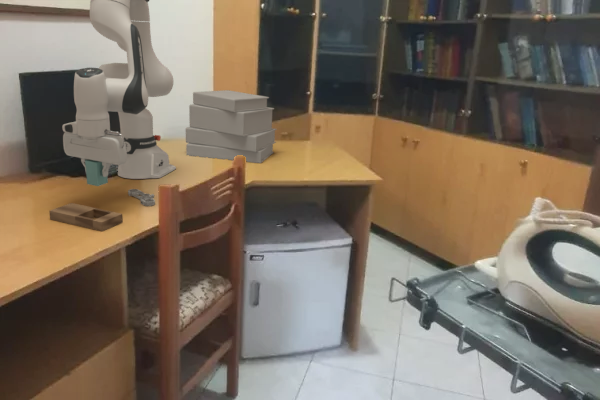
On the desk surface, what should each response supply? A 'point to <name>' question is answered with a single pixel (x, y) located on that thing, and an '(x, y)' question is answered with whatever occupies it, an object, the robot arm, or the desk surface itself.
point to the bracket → (142, 197)
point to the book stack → (230, 126)
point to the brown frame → (86, 216)
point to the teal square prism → (95, 173)
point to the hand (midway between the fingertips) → (96, 174)
